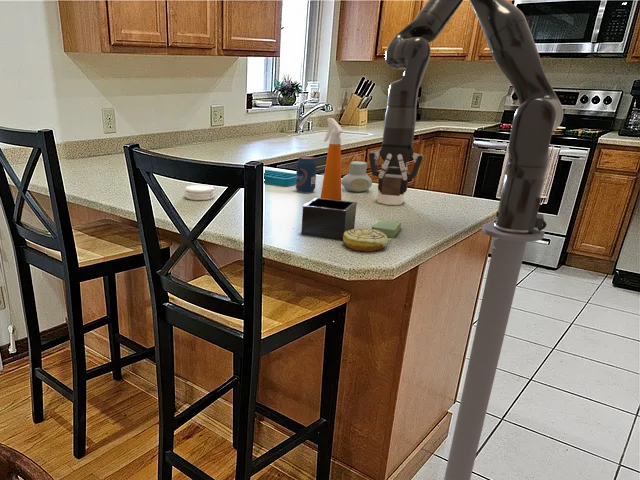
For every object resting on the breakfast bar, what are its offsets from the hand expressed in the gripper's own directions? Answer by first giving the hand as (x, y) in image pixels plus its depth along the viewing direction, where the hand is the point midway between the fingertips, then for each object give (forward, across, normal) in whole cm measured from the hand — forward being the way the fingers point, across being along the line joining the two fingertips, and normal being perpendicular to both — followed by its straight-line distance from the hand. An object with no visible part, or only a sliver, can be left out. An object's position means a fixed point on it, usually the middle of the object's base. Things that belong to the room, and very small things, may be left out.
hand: (391, 192), depth 139 cm
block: (0, 0, 0) cm, 0 cm away
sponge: (+11, 0, -1) cm, 11 cm away
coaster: (+10, +66, -14) cm, 68 cm away
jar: (+11, +6, -36) cm, 38 cm away
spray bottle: (+11, +25, -28) cm, 39 cm away
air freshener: (+11, +21, -49) cm, 54 cm away
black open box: (+11, +14, +7) cm, 19 cm away
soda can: (+10, +37, -39) cm, 55 cm away
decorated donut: (+11, +3, +15) cm, 19 cm away
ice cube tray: (+10, +54, -50) cm, 74 cm away
